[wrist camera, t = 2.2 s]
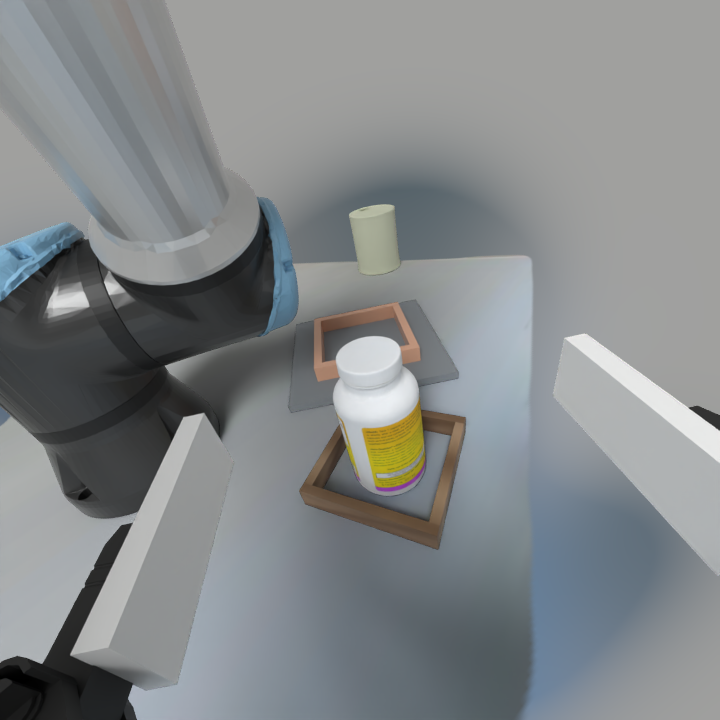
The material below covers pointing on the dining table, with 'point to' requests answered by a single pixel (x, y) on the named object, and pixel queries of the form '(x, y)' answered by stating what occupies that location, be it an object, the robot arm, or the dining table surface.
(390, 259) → the can
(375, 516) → the collar
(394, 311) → the collar
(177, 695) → the dining table surface
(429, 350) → the mat
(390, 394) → the supplement bottle
